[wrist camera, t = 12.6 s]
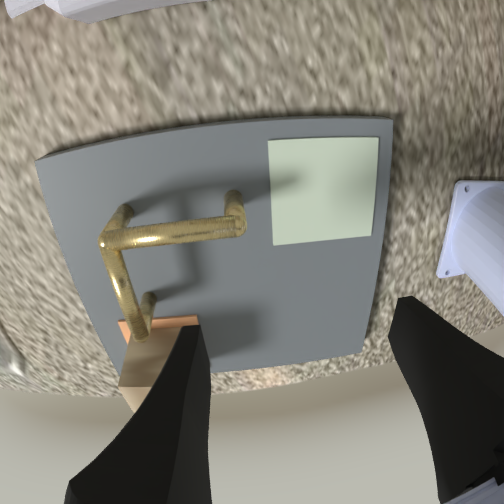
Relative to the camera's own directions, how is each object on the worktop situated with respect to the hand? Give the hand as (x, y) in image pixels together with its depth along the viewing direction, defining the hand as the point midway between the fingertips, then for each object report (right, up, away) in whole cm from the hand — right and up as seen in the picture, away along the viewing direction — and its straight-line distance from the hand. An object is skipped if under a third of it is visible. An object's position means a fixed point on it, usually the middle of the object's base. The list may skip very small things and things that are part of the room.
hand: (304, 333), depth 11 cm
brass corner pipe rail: (-6, +3, +7) cm, 10 cm away
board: (-4, +2, +9) cm, 10 cm away
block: (-8, -4, +11) cm, 14 cm away
